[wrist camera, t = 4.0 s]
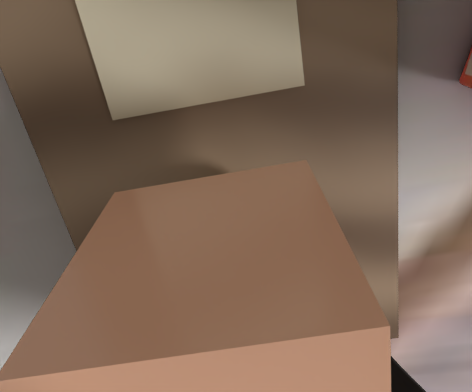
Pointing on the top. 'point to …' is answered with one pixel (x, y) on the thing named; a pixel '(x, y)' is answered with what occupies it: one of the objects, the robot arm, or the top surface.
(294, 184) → the terracotta cover
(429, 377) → the top surface
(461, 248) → the top surface
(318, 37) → the walnut board
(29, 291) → the top surface
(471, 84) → the cracker box
